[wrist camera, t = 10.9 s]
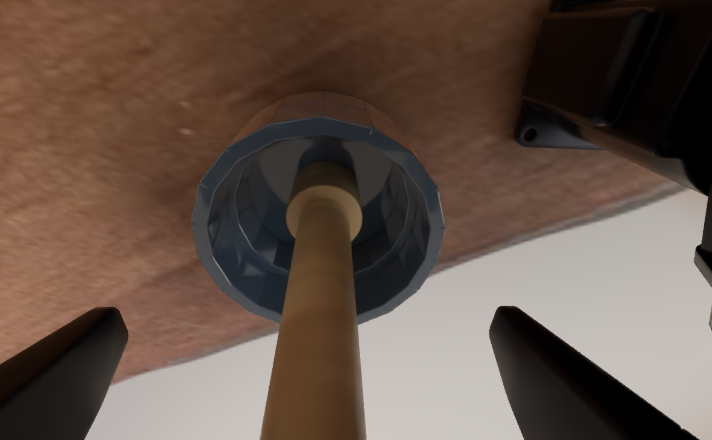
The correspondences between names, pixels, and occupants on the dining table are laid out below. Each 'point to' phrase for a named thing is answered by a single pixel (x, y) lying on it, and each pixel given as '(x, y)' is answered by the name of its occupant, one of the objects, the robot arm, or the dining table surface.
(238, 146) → the bowl
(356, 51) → the dining table surface
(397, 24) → the dining table surface
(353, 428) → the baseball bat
